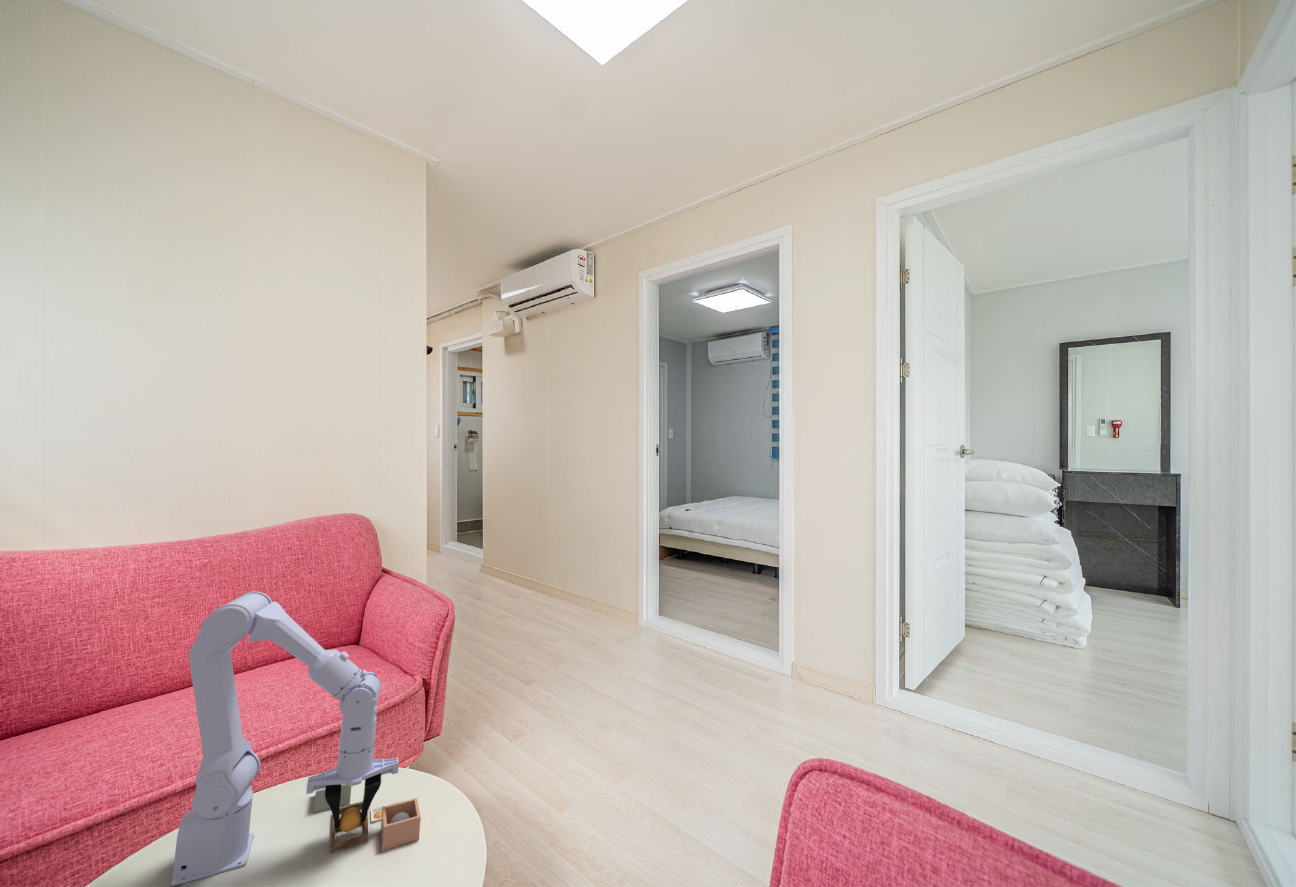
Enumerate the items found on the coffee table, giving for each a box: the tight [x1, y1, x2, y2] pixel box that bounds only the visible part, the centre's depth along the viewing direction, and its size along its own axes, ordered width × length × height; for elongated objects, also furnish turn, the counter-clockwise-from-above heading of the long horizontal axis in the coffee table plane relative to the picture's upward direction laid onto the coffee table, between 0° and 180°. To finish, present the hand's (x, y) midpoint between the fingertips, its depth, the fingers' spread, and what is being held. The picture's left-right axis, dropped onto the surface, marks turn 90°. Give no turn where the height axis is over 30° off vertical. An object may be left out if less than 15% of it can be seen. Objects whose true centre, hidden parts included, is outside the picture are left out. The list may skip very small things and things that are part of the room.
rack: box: [329, 800, 370, 854], centre depth 93 cm, size 6×11×1 cm, turn 31°
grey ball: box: [389, 812, 410, 824], centre depth 92 cm, size 4×4×4 cm
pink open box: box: [380, 797, 422, 852], centre depth 92 cm, size 6×6×4 cm
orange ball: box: [339, 807, 362, 833], centre depth 91 cm, size 4×4×4 cm
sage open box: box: [313, 784, 352, 814], centre depth 101 cm, size 6×6×4 cm
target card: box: [369, 799, 405, 824], centre depth 98 cm, size 6×4×1 cm, turn 121°
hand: (350, 821), depth 91 cm, fingers closed on orange ball, 4 cm apart
